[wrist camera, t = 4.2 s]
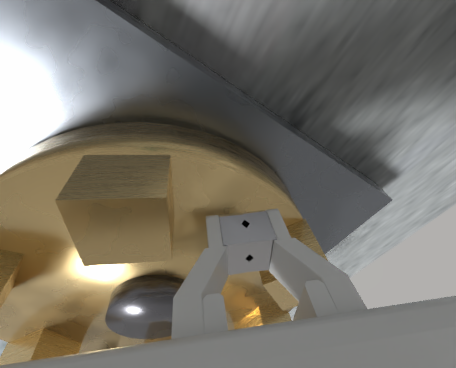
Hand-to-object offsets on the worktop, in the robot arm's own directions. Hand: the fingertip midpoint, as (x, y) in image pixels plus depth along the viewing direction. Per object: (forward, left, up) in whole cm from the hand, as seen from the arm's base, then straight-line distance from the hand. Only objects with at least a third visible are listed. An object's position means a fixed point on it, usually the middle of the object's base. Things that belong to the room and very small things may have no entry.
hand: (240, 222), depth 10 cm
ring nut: (+8, 0, -4) cm, 9 cm away
